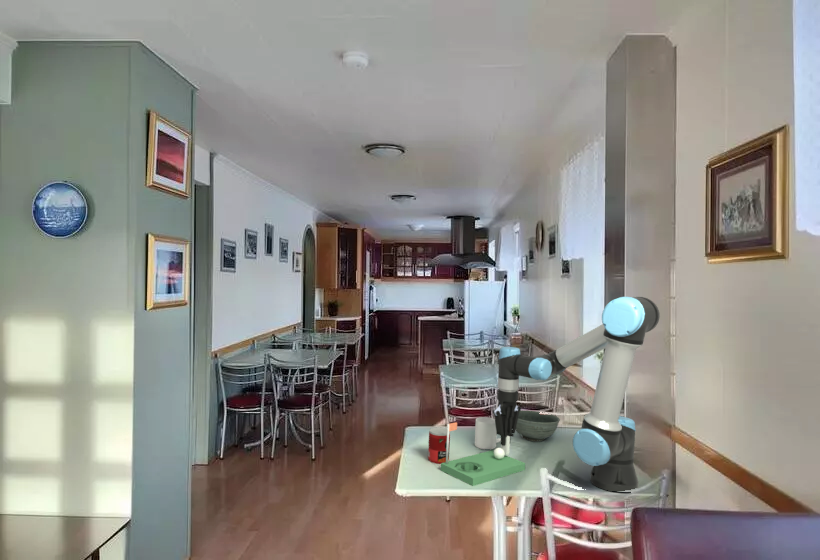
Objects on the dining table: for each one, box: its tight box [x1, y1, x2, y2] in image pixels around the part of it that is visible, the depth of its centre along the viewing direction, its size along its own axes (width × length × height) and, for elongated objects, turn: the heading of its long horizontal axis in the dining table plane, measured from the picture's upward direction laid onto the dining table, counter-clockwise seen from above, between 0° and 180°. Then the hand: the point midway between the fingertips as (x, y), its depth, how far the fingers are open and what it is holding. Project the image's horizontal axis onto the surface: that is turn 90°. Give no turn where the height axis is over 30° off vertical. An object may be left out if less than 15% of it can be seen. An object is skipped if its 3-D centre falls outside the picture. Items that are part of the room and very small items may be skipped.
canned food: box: [427, 427, 451, 465], centre depth 196 cm, size 8×8×11 cm
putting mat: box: [440, 422, 526, 487], centre depth 188 cm, size 16×26×16 cm, turn 128°
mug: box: [474, 416, 501, 450], centre depth 214 cm, size 9×12×11 cm
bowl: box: [515, 409, 561, 442], centre depth 227 cm, size 21×21×10 cm
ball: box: [493, 447, 505, 459], centre depth 193 cm, size 4×4×4 cm
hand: (505, 453), depth 195 cm, fingers closed
